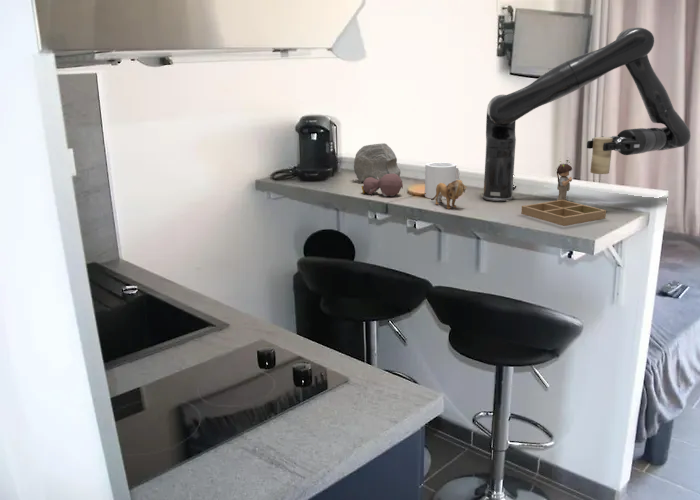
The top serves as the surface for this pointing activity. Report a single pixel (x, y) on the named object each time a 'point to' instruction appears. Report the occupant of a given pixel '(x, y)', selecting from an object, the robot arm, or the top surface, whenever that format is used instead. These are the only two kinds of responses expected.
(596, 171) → the peg
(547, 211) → the wooden compartment tray
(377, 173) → the stone
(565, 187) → the toy
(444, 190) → the lion figurine
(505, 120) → the robot arm
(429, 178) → the mug
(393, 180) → the toy
